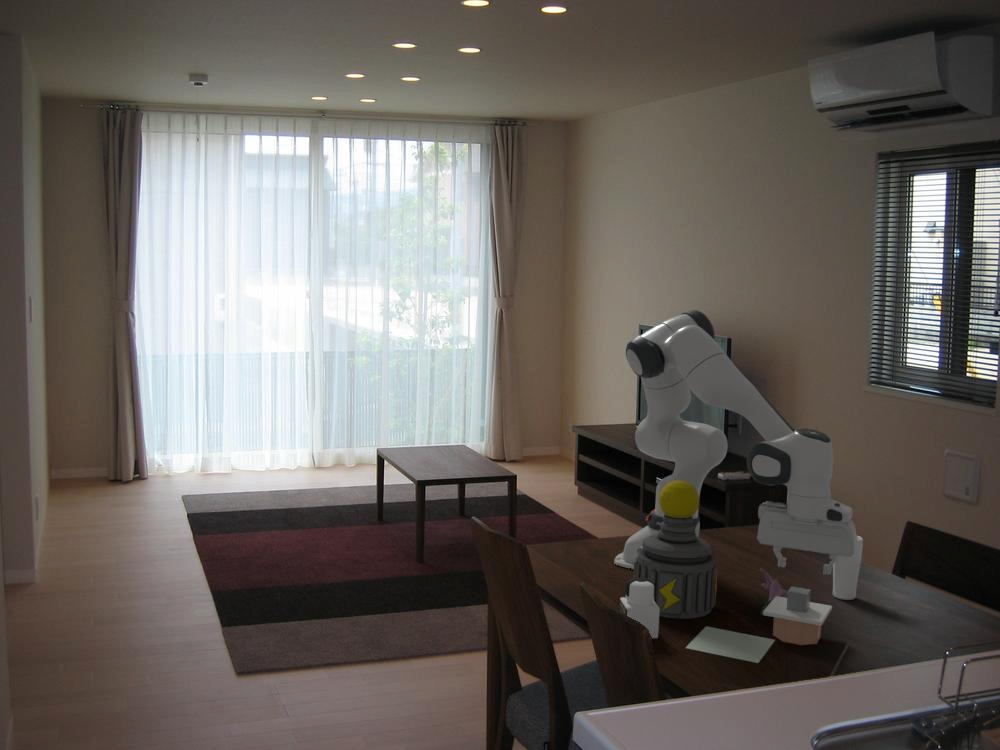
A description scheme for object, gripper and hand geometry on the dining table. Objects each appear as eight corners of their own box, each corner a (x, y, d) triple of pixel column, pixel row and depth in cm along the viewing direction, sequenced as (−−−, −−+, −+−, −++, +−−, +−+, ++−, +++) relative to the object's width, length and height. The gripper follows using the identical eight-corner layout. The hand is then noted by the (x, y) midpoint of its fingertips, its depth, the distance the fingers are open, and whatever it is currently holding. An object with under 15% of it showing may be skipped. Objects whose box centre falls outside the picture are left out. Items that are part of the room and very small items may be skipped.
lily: (796, 629, 234) (813, 590, 235) (747, 605, 235) (765, 566, 237) (783, 627, 245) (799, 590, 247) (737, 604, 247) (753, 567, 248)
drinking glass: (860, 603, 250) (865, 541, 249) (830, 600, 252) (835, 539, 250) (856, 594, 257) (861, 534, 255) (827, 591, 258) (832, 532, 257)
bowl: (769, 641, 222) (771, 614, 222) (779, 628, 230) (780, 602, 230) (814, 650, 218) (816, 622, 217) (822, 636, 226) (824, 610, 226)
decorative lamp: (717, 600, 248) (725, 476, 245) (711, 626, 230) (719, 492, 227) (638, 591, 253) (644, 469, 250) (626, 616, 235) (632, 485, 232)
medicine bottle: (618, 628, 227) (620, 574, 226) (650, 628, 228) (653, 575, 226) (624, 640, 220) (627, 585, 218) (658, 640, 220) (661, 585, 219)
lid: (762, 614, 221) (764, 592, 220) (775, 599, 232) (777, 578, 231) (821, 625, 216) (823, 603, 215) (831, 609, 226) (833, 587, 226)
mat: (685, 650, 215) (685, 647, 215) (705, 628, 229) (706, 626, 229) (758, 665, 209) (758, 662, 208) (775, 642, 222) (775, 639, 222)
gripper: (755, 503, 223) (751, 566, 225) (855, 516, 214) (851, 581, 216) (762, 497, 229) (758, 558, 230) (860, 509, 220) (855, 573, 221)
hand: (804, 569), depth 223 cm, fingers open, 8 cm apart
